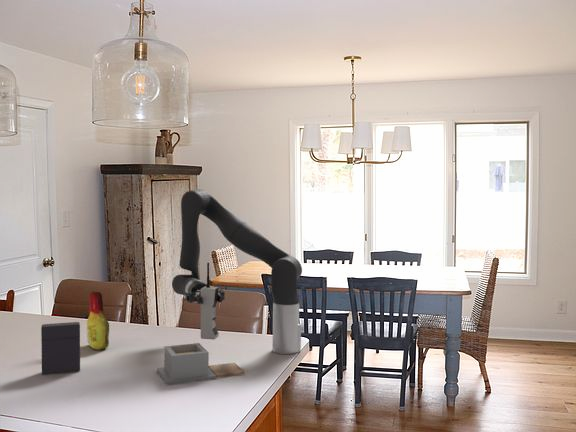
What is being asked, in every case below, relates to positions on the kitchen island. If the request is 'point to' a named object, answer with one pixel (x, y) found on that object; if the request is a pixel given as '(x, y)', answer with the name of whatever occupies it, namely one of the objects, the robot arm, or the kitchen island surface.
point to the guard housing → (185, 364)
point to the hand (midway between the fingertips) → (211, 300)
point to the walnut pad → (226, 370)
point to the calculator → (60, 348)
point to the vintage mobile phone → (209, 310)
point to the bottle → (97, 323)
